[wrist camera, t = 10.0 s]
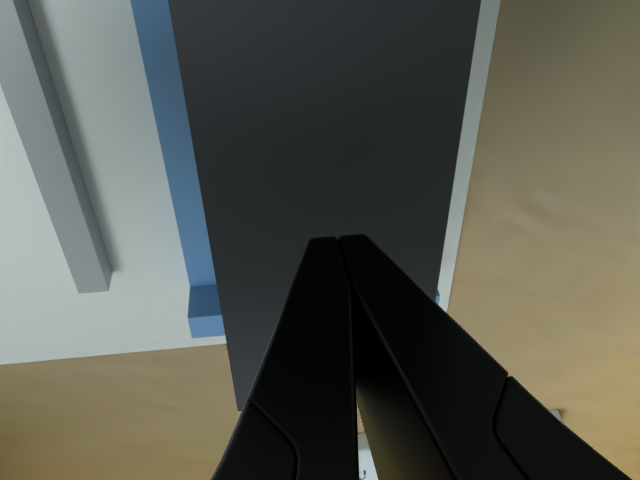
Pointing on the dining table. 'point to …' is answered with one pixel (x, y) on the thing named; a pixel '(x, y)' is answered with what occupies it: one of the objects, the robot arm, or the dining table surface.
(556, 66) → the dining table surface
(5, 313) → the board
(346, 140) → the dark gray block
